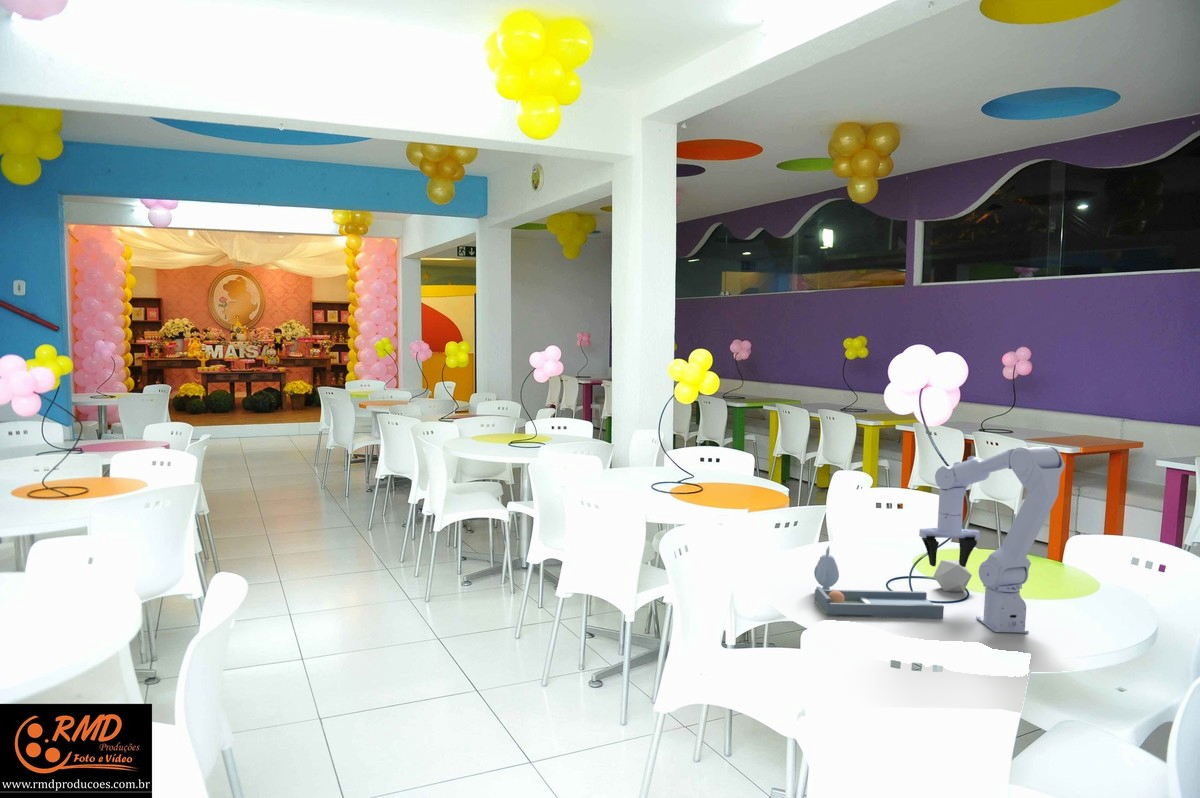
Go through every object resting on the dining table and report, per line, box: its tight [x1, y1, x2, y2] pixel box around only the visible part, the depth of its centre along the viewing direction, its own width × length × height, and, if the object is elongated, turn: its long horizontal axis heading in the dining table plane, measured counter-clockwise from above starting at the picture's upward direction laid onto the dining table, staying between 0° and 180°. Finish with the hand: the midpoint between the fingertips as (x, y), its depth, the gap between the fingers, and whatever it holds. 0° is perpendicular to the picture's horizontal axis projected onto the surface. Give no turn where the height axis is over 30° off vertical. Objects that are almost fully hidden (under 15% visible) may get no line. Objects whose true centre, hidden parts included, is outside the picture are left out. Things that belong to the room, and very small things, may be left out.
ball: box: [828, 591, 845, 603], centre depth 198 cm, size 4×4×4 cm
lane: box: [814, 586, 945, 619], centre depth 198 cm, size 11×28×4 cm, turn 90°
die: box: [933, 559, 973, 592], centre depth 215 cm, size 8×9×10 cm
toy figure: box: [813, 545, 840, 590], centre depth 211 cm, size 11×6×12 cm, turn 156°
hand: (947, 565), depth 205 cm, fingers open, 7 cm apart
